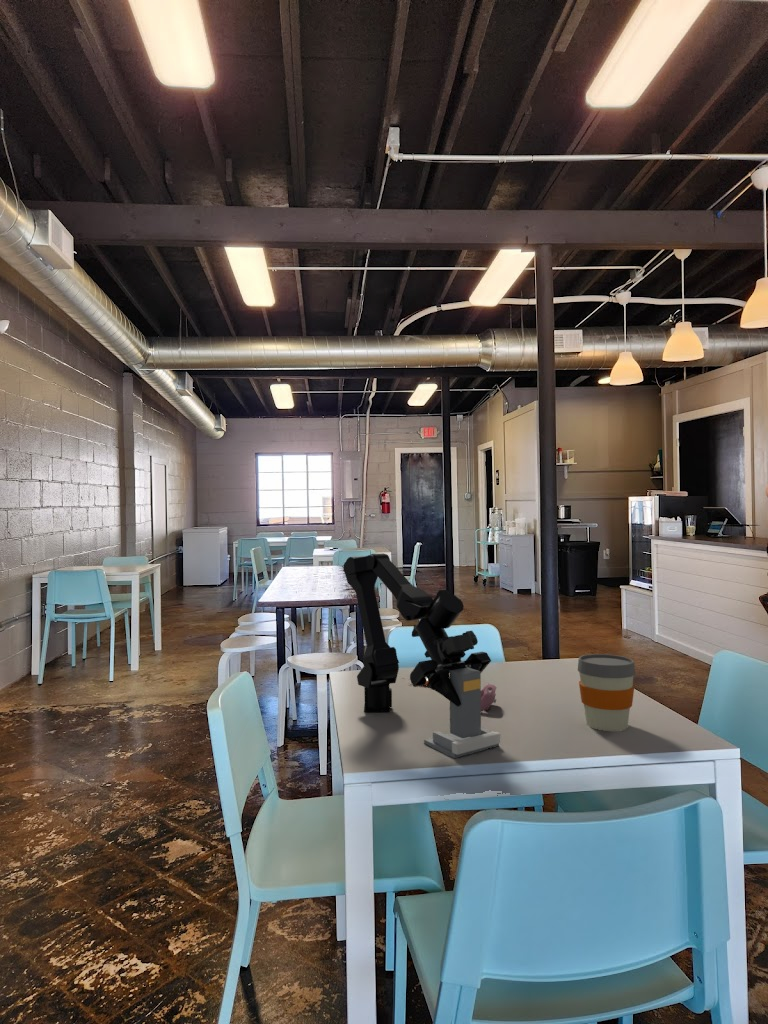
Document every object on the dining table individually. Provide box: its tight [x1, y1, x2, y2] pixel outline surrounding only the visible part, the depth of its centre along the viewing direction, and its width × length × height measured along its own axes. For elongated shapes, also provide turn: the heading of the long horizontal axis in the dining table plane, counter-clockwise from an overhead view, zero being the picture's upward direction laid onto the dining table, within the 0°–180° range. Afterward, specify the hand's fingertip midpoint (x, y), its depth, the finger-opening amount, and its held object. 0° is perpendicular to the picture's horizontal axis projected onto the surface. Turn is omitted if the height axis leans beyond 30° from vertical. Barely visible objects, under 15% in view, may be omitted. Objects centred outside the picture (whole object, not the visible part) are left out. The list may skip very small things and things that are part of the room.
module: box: [449, 668, 482, 738], centre depth 130 cm, size 4×5×13 cm
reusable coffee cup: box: [577, 653, 636, 732], centre depth 143 cm, size 13×13×15 cm
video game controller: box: [481, 683, 497, 713], centre depth 158 cm, size 10×5×7 cm, turn 169°
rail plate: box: [423, 726, 501, 759], centre depth 131 cm, size 11×12×3 cm
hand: (469, 703), depth 129 cm, fingers closed on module, 5 cm apart
